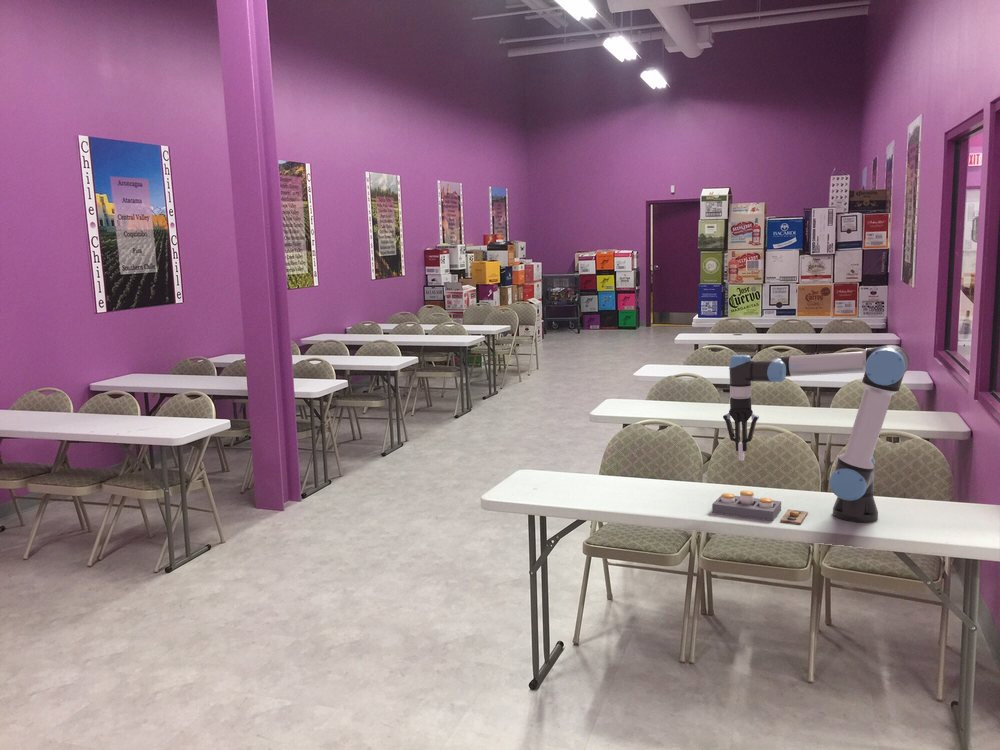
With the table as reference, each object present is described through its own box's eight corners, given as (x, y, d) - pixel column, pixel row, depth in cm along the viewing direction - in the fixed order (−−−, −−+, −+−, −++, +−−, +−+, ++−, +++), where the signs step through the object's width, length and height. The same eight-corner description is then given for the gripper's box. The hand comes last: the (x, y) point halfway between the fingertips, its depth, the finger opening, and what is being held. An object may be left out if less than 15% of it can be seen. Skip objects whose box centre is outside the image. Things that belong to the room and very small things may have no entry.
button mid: (754, 503, 305) (755, 491, 304) (751, 506, 301) (752, 494, 300) (741, 501, 307) (742, 490, 307) (738, 504, 303) (738, 493, 302)
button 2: (774, 510, 302) (774, 498, 301) (771, 513, 297) (771, 502, 297) (760, 508, 304) (761, 497, 303) (757, 512, 300) (758, 500, 299)
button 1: (735, 505, 309) (736, 494, 308) (732, 508, 304) (732, 497, 304) (723, 503, 311) (723, 492, 310) (719, 507, 307) (719, 495, 306)
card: (807, 513, 300) (807, 508, 300) (800, 524, 288) (800, 519, 288) (788, 511, 304) (788, 506, 303) (780, 522, 292) (780, 516, 291)
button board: (781, 510, 305) (781, 501, 304) (773, 521, 293) (773, 511, 292) (722, 503, 316) (722, 494, 315) (712, 513, 304) (712, 503, 303)
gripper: (761, 396, 300) (761, 458, 303) (725, 394, 306) (726, 456, 309) (756, 399, 293) (757, 463, 296) (720, 398, 300) (721, 460, 303)
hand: (741, 459), depth 303 cm, fingers closed
